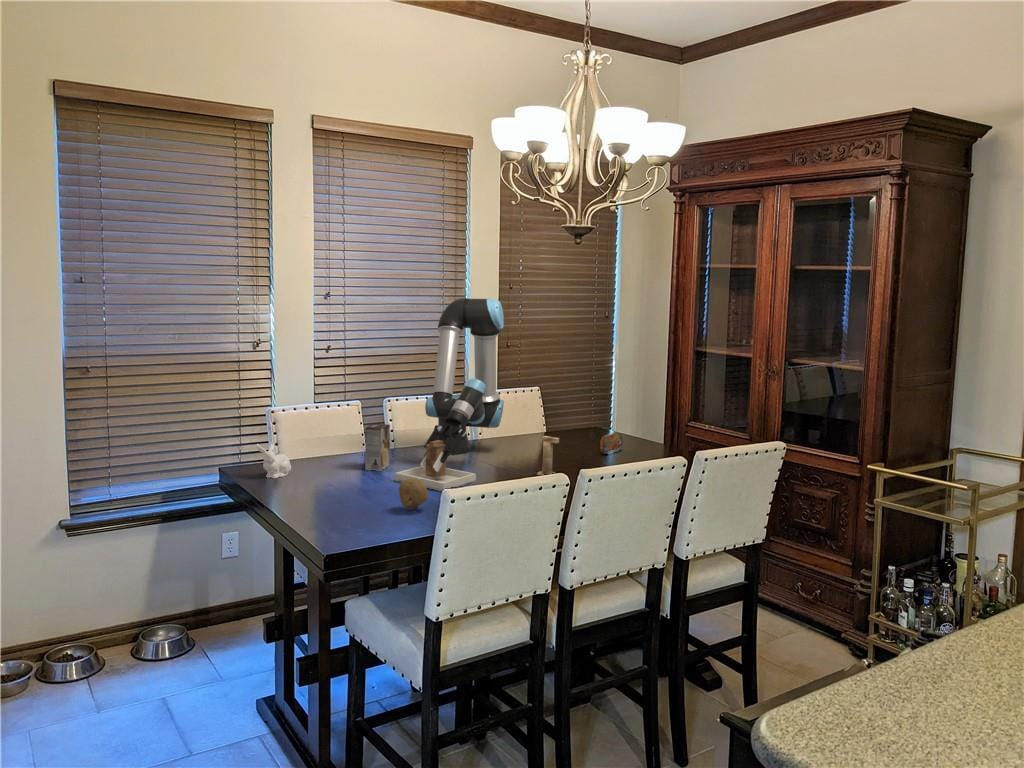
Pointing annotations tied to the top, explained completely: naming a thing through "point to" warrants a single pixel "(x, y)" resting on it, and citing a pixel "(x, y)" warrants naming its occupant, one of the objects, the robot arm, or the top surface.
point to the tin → (610, 442)
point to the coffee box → (377, 447)
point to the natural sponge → (412, 493)
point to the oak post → (547, 454)
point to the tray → (449, 480)
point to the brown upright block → (434, 458)
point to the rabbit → (275, 463)
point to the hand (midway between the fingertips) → (429, 467)
